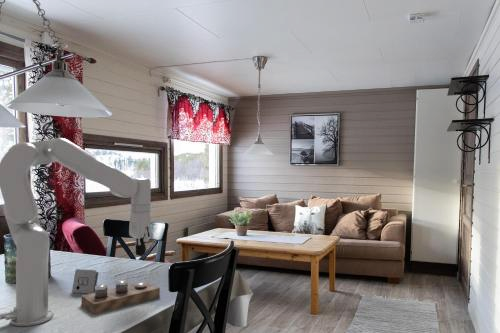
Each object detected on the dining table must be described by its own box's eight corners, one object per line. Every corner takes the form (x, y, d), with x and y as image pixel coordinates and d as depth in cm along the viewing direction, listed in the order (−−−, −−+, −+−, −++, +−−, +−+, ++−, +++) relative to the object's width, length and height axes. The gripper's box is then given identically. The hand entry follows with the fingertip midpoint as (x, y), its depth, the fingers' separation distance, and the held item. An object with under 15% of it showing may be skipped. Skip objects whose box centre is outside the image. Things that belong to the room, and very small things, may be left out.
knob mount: (94, 314, 136) (94, 304, 136) (81, 305, 144) (81, 295, 144) (159, 296, 154) (159, 288, 154) (144, 289, 162) (144, 281, 162)
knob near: (97, 300, 140) (97, 288, 140) (93, 297, 143) (93, 285, 143) (109, 298, 143) (109, 285, 143) (104, 295, 146) (104, 283, 146)
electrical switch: (71, 292, 158) (72, 269, 159) (79, 290, 163) (80, 267, 164) (91, 294, 156) (93, 271, 157) (99, 291, 161) (100, 269, 162)
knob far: (138, 297, 151) (138, 286, 151) (133, 294, 155) (133, 283, 155) (148, 294, 154) (148, 283, 154) (143, 292, 158) (143, 281, 158)
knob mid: (118, 295, 146) (118, 283, 146) (113, 292, 149) (113, 281, 149) (129, 293, 149) (129, 281, 149) (124, 290, 152) (124, 279, 152)
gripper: (123, 207, 157) (122, 252, 157) (141, 211, 146) (140, 259, 146) (140, 206, 162) (139, 250, 162) (158, 209, 151) (158, 256, 151)
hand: (140, 254), depth 154 cm, fingers closed
